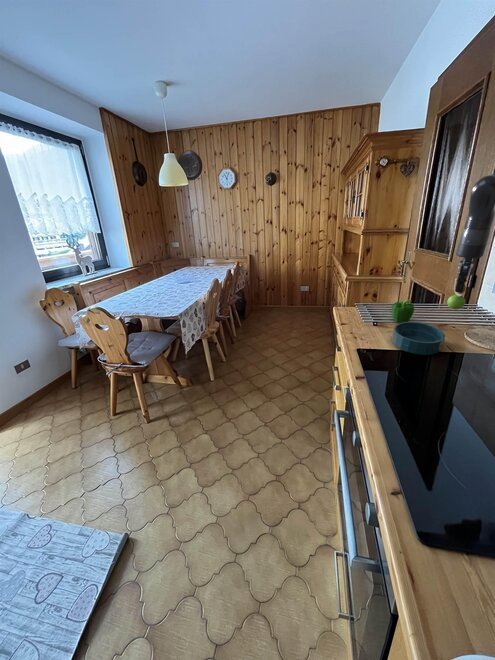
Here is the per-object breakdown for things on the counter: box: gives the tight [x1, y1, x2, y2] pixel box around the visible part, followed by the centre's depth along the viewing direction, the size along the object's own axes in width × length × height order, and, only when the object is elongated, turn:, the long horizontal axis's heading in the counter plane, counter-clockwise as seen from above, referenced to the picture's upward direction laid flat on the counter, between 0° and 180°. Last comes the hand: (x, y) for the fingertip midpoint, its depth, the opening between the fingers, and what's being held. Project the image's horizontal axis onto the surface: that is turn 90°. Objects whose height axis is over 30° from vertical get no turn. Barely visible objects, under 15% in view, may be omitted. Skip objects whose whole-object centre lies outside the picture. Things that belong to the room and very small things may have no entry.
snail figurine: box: [446, 274, 466, 310], centre depth 104 cm, size 5×6×12 cm
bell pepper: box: [391, 299, 415, 324], centre depth 121 cm, size 8×8×10 cm
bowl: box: [391, 321, 446, 356], centre depth 105 cm, size 16×16×6 cm
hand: (459, 289), depth 103 cm, fingers closed on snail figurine, 5 cm apart
